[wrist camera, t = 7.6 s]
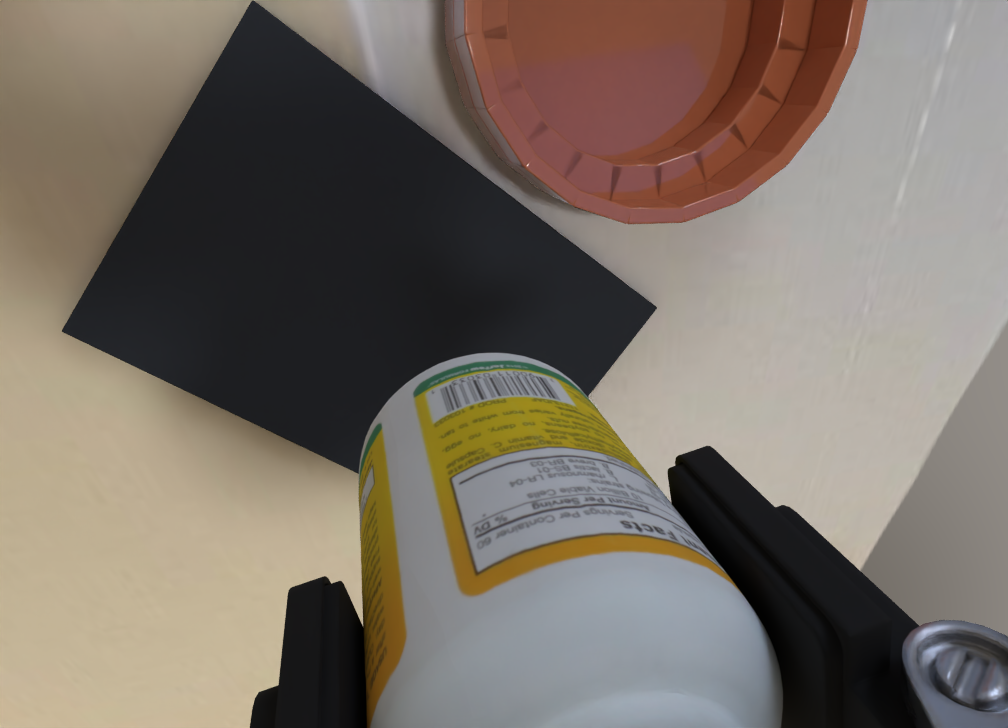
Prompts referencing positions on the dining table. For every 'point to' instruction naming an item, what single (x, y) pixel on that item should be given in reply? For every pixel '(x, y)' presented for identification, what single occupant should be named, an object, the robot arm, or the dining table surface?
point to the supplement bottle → (539, 570)
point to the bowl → (650, 94)
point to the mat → (333, 256)
